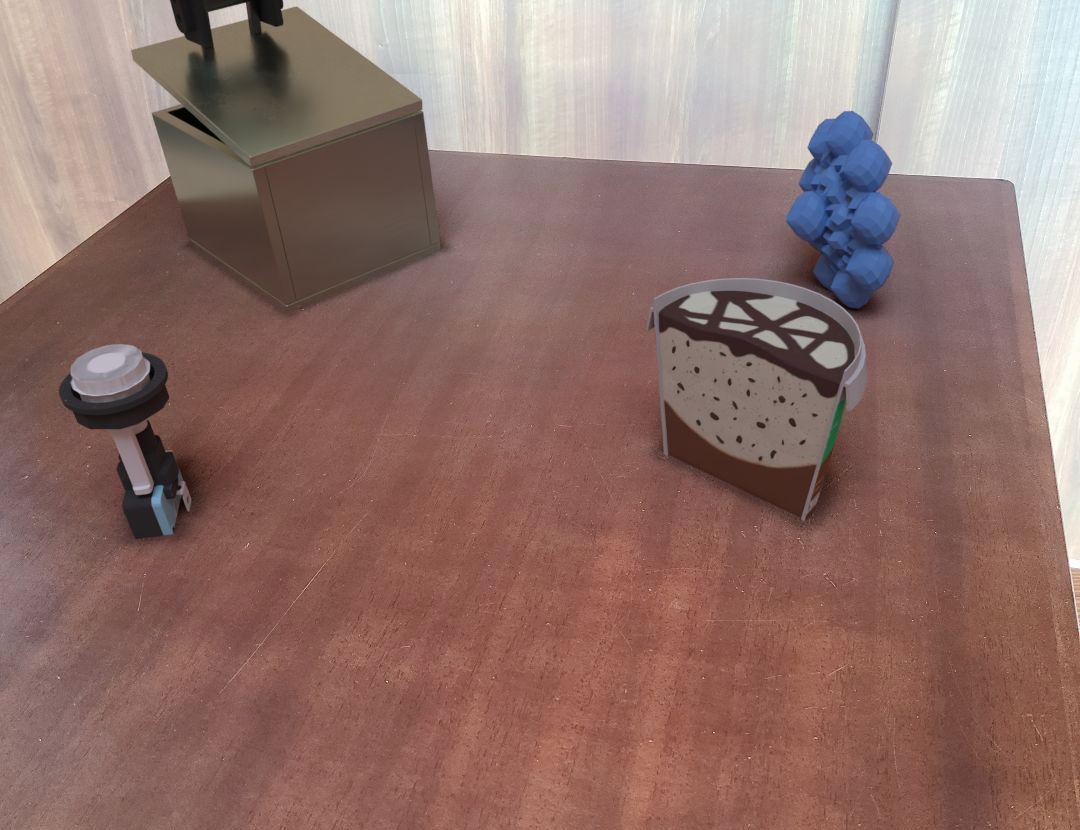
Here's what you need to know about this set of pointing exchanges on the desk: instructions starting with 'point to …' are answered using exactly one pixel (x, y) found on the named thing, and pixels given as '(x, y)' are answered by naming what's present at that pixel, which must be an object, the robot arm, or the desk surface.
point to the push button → (130, 430)
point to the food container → (756, 383)
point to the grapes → (846, 209)
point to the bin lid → (275, 83)
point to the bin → (305, 206)
